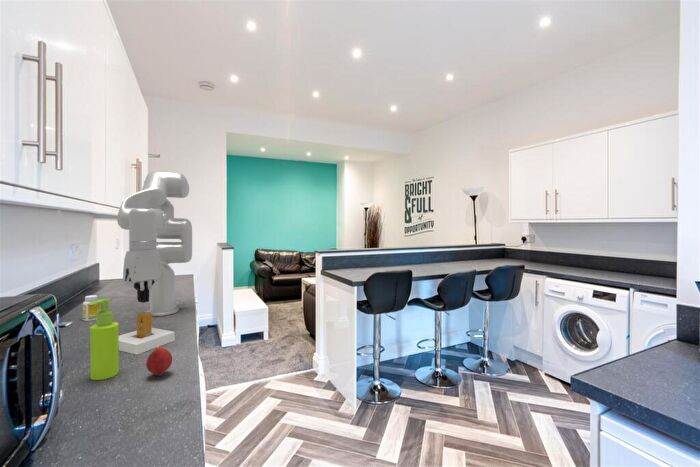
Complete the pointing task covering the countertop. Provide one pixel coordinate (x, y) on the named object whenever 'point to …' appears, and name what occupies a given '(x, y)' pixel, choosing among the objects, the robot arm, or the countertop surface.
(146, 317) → the supplement box
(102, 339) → the soap dispenser
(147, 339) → the socket block
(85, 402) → the countertop surface
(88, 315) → the supplement bottle
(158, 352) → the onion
